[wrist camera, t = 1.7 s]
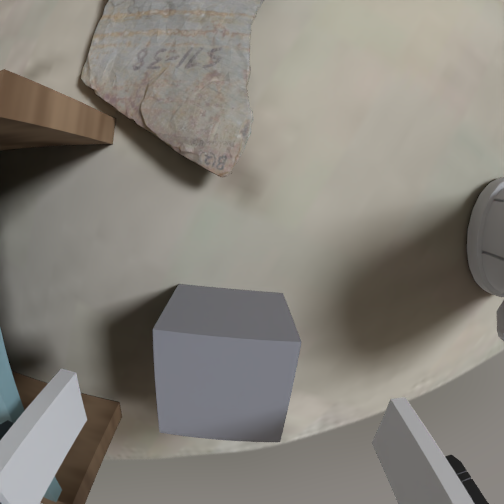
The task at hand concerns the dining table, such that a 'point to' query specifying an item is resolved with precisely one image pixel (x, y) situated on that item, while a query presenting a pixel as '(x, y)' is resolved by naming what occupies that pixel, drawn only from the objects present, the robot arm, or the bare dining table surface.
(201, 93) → the stone
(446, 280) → the dining table surface
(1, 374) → the trapdoor
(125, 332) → the dining table surface
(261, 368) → the block
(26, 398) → the brown open boxy piece
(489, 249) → the cup
